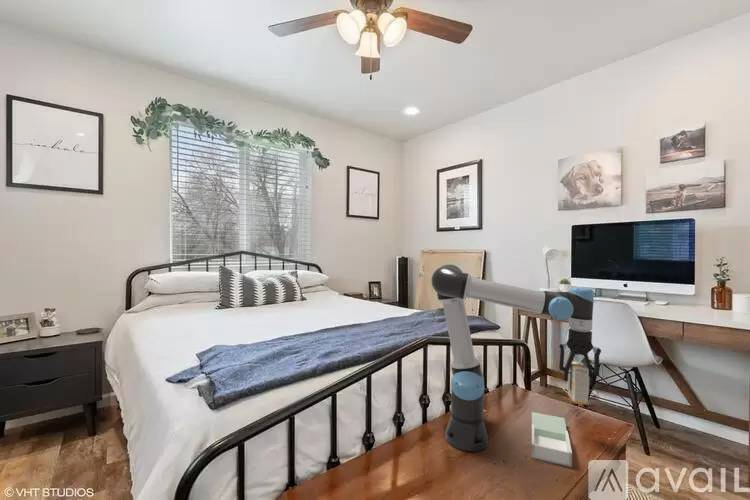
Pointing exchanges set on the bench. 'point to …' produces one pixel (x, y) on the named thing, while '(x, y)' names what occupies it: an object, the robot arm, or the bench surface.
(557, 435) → the board
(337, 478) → the bench surface
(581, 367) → the supplement box
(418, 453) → the bench surface
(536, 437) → the tray
